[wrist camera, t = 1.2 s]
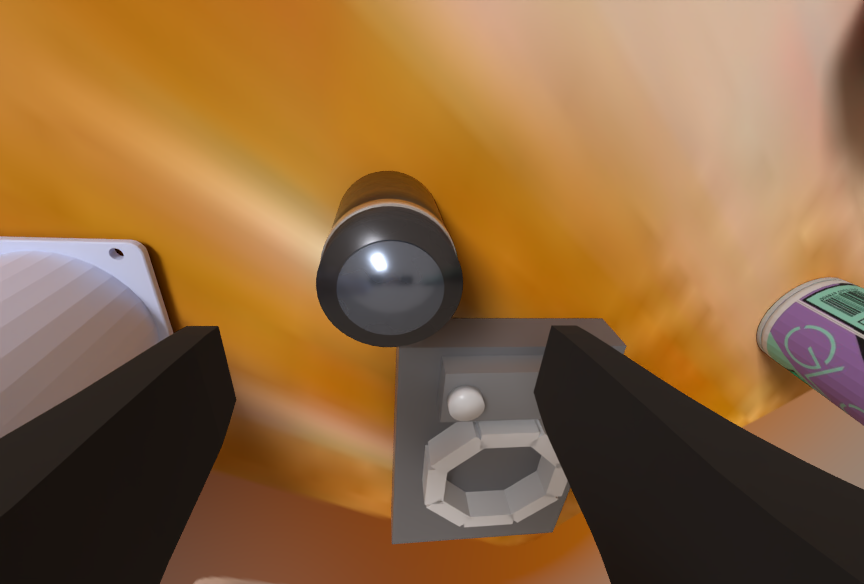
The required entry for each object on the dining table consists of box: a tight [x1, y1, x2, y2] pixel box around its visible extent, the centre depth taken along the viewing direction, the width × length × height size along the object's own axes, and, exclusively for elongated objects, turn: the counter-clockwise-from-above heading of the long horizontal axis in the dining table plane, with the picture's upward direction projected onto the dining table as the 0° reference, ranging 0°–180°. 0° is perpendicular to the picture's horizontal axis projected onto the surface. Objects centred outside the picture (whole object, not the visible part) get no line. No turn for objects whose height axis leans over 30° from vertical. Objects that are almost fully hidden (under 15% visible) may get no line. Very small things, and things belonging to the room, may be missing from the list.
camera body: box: [391, 318, 626, 544], centre depth 22 cm, size 11×16×4 cm
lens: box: [316, 171, 463, 347], centre depth 14 cm, size 4×4×6 cm
